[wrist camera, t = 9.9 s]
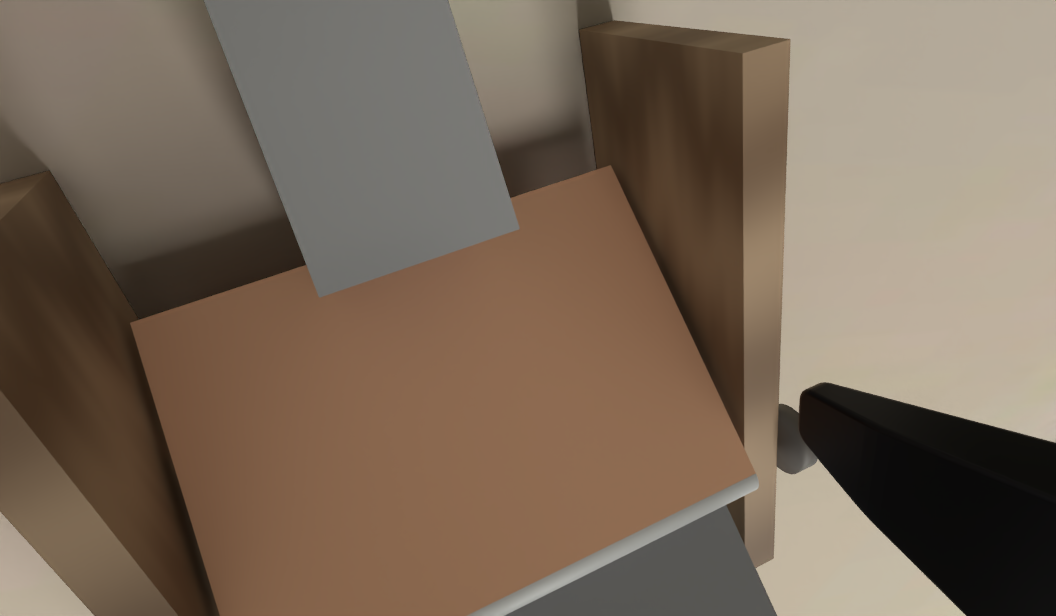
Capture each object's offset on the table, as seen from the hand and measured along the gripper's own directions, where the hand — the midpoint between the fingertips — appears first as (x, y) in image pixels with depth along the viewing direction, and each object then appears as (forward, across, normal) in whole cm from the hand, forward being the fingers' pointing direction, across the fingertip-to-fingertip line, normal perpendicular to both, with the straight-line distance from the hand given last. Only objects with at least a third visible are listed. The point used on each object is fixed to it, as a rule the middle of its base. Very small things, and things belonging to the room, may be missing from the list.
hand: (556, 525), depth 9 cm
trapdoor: (+9, 0, +8) cm, 12 cm away
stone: (+8, 0, -1) cm, 8 cm away
